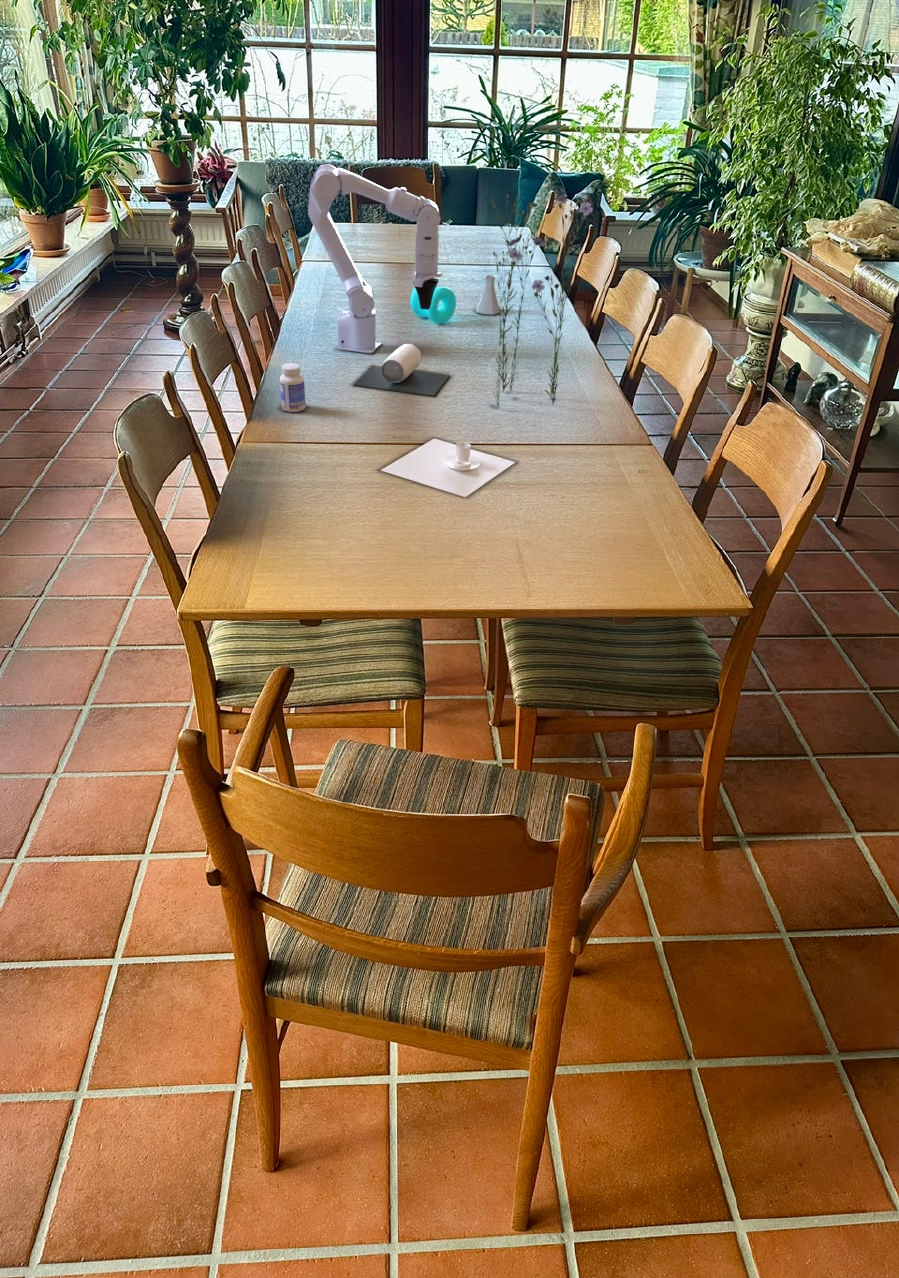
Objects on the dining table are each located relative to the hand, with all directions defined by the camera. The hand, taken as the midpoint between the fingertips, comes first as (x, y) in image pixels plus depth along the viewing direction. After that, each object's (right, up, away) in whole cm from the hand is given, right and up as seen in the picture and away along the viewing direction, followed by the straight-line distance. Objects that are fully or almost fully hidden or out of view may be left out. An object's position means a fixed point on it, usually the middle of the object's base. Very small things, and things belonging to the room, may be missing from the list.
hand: (425, 308), depth 254 cm
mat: (-5, -22, -15) cm, 27 cm away
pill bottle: (-29, -33, -31) cm, 54 cm away
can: (-4, -15, -10) cm, 18 cm away
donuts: (+1, +5, +27) cm, 27 cm away
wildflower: (+24, -29, -22) cm, 44 cm away
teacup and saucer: (+6, -50, -53) cm, 73 cm away
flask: (+18, +11, +35) cm, 41 cm away
